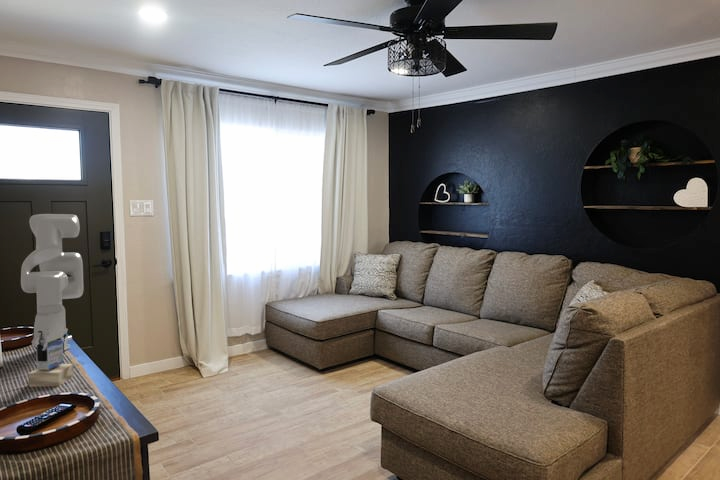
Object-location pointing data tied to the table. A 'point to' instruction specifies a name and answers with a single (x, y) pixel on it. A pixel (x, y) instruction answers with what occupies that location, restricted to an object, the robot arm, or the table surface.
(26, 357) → the table surface
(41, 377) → the wooden block
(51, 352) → the medicine box
